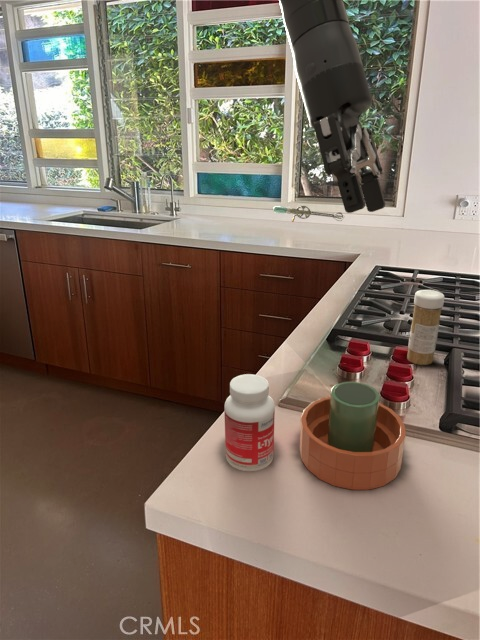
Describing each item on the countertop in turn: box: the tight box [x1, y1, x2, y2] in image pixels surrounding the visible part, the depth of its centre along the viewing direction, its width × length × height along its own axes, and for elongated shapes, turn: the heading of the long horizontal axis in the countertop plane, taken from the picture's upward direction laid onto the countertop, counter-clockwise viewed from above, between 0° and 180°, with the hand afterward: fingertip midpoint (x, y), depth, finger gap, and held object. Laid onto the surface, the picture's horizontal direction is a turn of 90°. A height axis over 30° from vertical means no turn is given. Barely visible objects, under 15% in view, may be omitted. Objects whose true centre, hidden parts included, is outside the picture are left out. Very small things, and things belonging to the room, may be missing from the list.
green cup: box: [327, 381, 381, 452], centre depth 57 cm, size 6×6×9 cm
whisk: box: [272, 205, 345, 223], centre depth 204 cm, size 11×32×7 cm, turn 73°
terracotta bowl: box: [299, 396, 406, 491], centre depth 58 cm, size 12×12×6 cm
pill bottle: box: [223, 373, 276, 472], centre depth 57 cm, size 6×6×11 cm
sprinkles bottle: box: [406, 289, 445, 366], centre depth 79 cm, size 5×5×14 cm
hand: (367, 210), depth 56 cm, fingers open, 8 cm apart
